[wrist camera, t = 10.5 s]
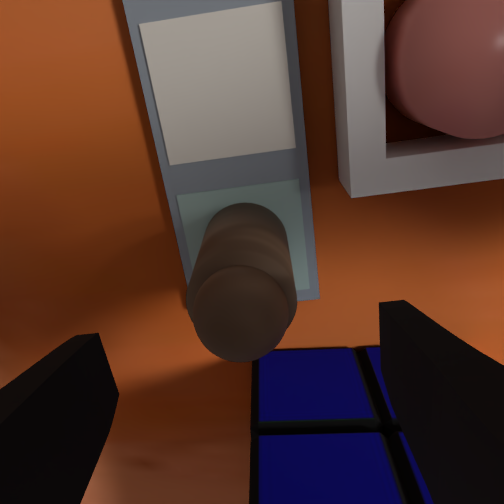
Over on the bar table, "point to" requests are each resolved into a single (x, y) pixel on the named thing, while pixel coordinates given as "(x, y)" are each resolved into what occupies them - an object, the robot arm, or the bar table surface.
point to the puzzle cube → (328, 432)
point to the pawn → (242, 284)
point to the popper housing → (374, 123)
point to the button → (448, 65)
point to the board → (227, 117)
